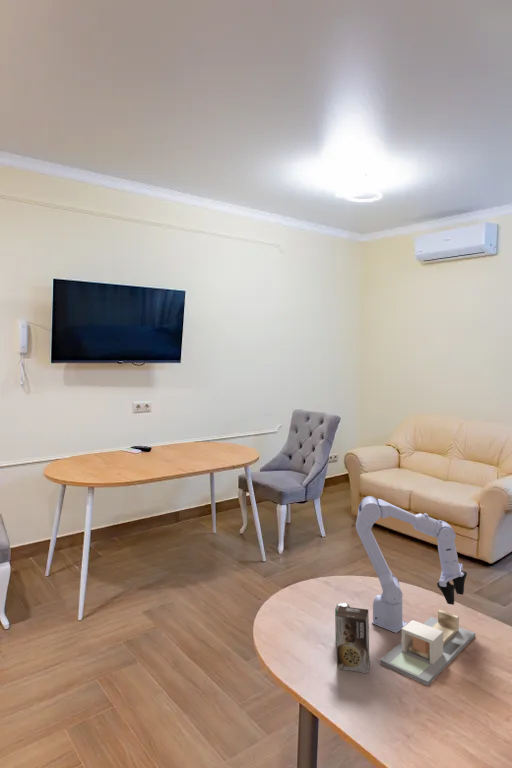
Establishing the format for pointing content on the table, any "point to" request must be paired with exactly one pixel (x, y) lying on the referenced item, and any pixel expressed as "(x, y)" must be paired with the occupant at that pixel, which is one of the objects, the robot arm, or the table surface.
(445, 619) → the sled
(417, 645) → the block
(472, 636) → the plate
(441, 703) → the table surface
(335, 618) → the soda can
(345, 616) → the cookie box
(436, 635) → the tunnel
